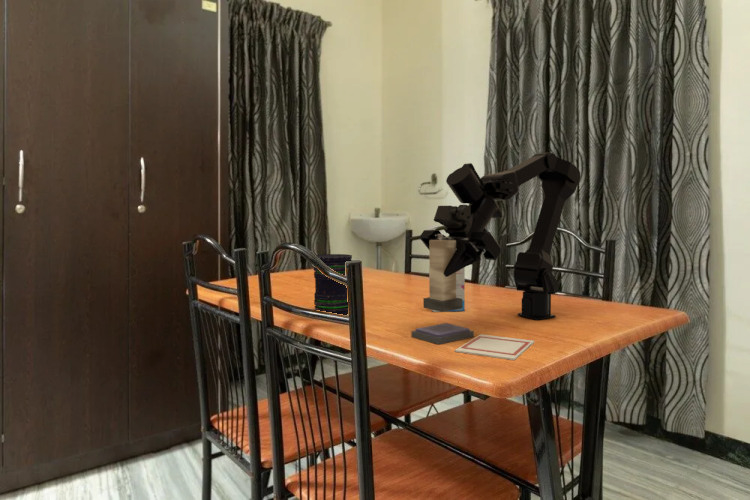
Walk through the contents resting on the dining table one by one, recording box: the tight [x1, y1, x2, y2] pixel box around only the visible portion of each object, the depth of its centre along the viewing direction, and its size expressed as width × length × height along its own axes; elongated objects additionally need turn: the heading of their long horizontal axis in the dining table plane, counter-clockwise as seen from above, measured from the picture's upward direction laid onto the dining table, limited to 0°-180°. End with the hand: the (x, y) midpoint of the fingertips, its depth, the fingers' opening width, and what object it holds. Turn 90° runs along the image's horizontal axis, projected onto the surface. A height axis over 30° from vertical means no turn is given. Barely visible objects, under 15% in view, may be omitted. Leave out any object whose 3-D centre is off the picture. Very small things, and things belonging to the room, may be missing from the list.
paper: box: [454, 334, 535, 361], centre depth 96 cm, size 14×11×1 cm
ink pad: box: [411, 322, 475, 346], centre depth 104 cm, size 10×8×2 cm
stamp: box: [422, 240, 462, 313], centre depth 103 cm, size 6×6×14 cm
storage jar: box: [313, 253, 353, 315], centre depth 129 cm, size 10×10×15 cm
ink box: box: [428, 265, 466, 313], centre depth 133 cm, size 8×5×15 cm, turn 96°
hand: (437, 274), depth 103 cm, fingers closed on stamp, 4 cm apart
